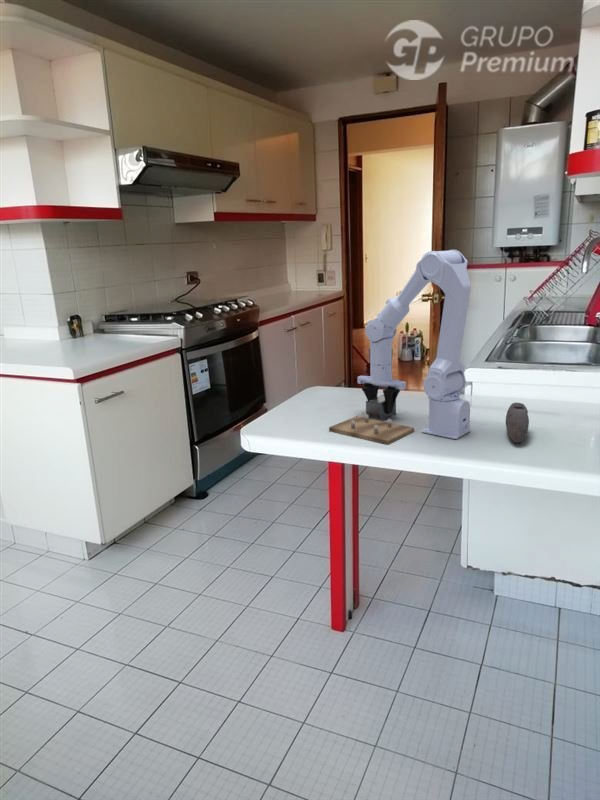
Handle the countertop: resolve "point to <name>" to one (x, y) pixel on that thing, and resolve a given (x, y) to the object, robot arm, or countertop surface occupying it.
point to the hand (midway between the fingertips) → (381, 411)
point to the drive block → (378, 409)
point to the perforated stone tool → (517, 422)
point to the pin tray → (372, 429)
